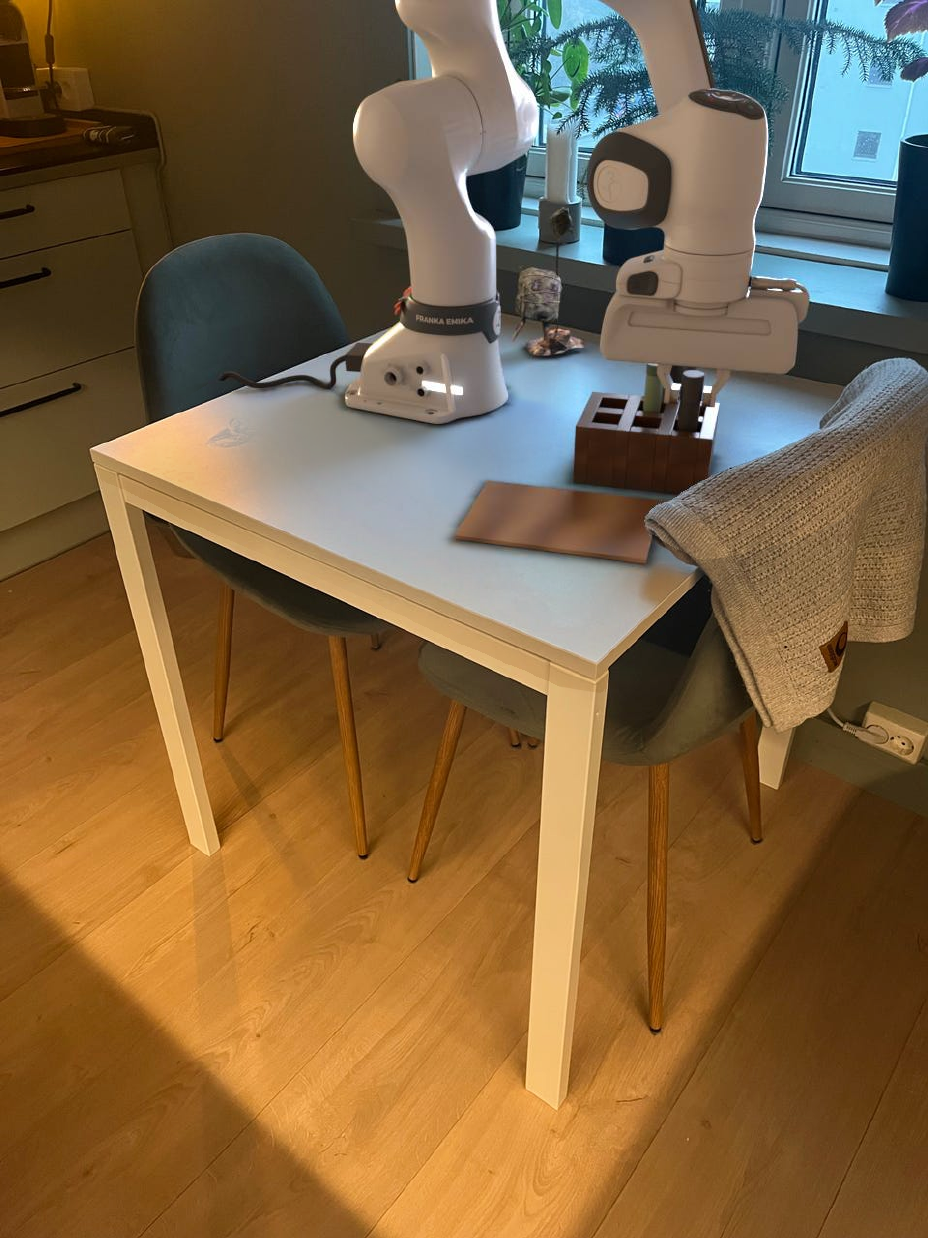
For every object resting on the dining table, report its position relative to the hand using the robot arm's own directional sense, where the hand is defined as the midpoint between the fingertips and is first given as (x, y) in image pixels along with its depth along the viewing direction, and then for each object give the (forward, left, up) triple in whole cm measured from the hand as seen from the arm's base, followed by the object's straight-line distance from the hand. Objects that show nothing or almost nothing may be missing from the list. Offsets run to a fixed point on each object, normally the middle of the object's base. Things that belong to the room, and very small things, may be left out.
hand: (689, 403), depth 105 cm
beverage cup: (-3, +16, -10) cm, 19 cm away
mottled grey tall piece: (-24, +40, -10) cm, 48 cm away
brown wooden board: (-11, -12, -10) cm, 19 cm away
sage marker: (-4, +4, -10) cm, 12 cm away
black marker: (0, 0, -10) cm, 10 cm away
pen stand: (-4, +2, -10) cm, 11 cm away
